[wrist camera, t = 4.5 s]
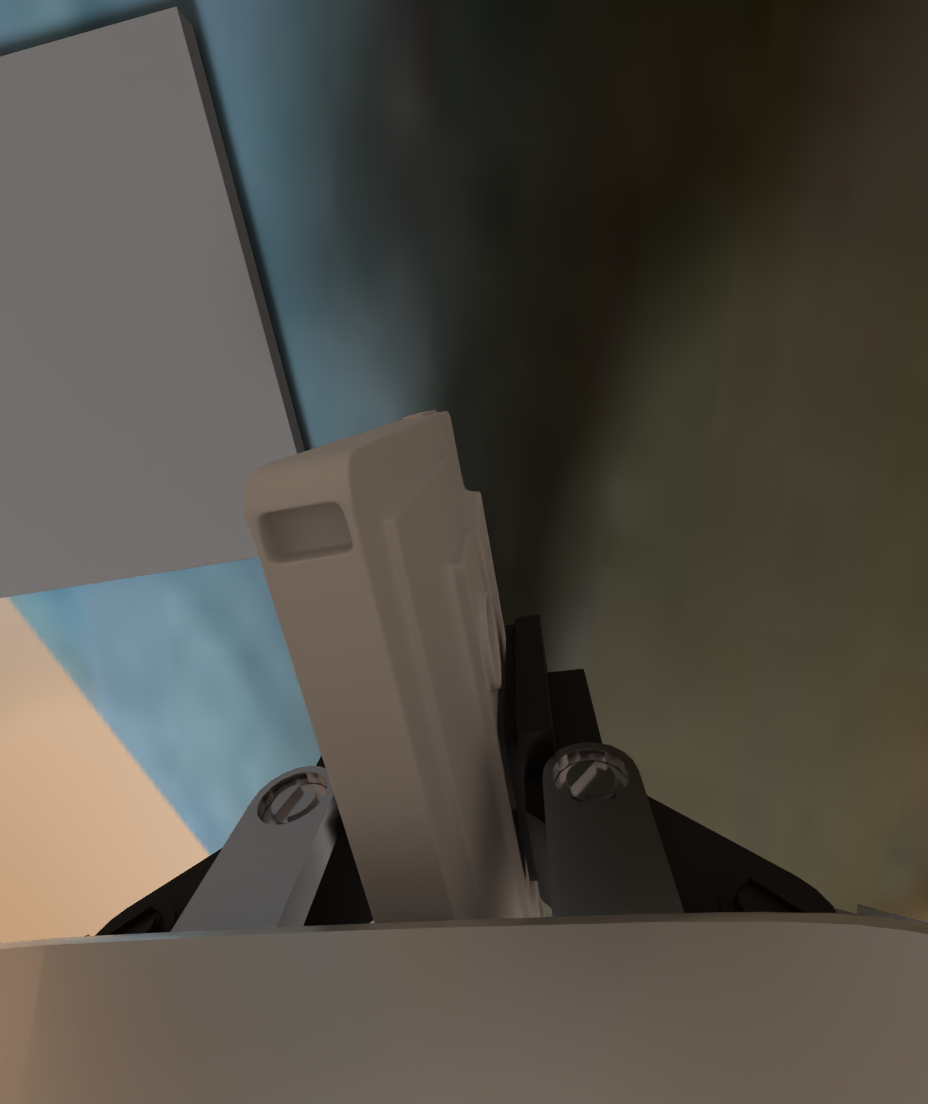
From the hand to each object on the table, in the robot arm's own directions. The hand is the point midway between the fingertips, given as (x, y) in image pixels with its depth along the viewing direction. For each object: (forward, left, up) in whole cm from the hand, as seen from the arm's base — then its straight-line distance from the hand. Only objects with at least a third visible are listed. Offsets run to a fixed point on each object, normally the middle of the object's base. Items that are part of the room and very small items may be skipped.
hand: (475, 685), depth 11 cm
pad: (+10, -9, -4) cm, 14 cm away
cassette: (0, 0, -2) cm, 2 cm away
